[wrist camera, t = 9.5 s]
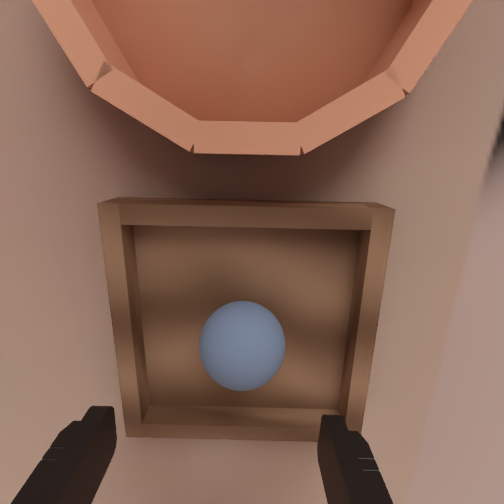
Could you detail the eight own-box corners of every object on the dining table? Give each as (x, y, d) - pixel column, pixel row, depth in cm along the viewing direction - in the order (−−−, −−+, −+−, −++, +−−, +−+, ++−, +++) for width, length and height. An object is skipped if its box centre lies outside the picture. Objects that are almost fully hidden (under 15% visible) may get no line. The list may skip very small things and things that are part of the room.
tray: (348, 412, 21) (359, 442, 19) (139, 407, 21) (126, 436, 19) (376, 202, 17) (395, 209, 15) (117, 197, 17) (97, 203, 15)
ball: (255, 366, 19) (246, 427, 15) (196, 325, 19) (169, 376, 14) (301, 317, 18) (305, 369, 13) (238, 272, 17) (222, 311, 13)
